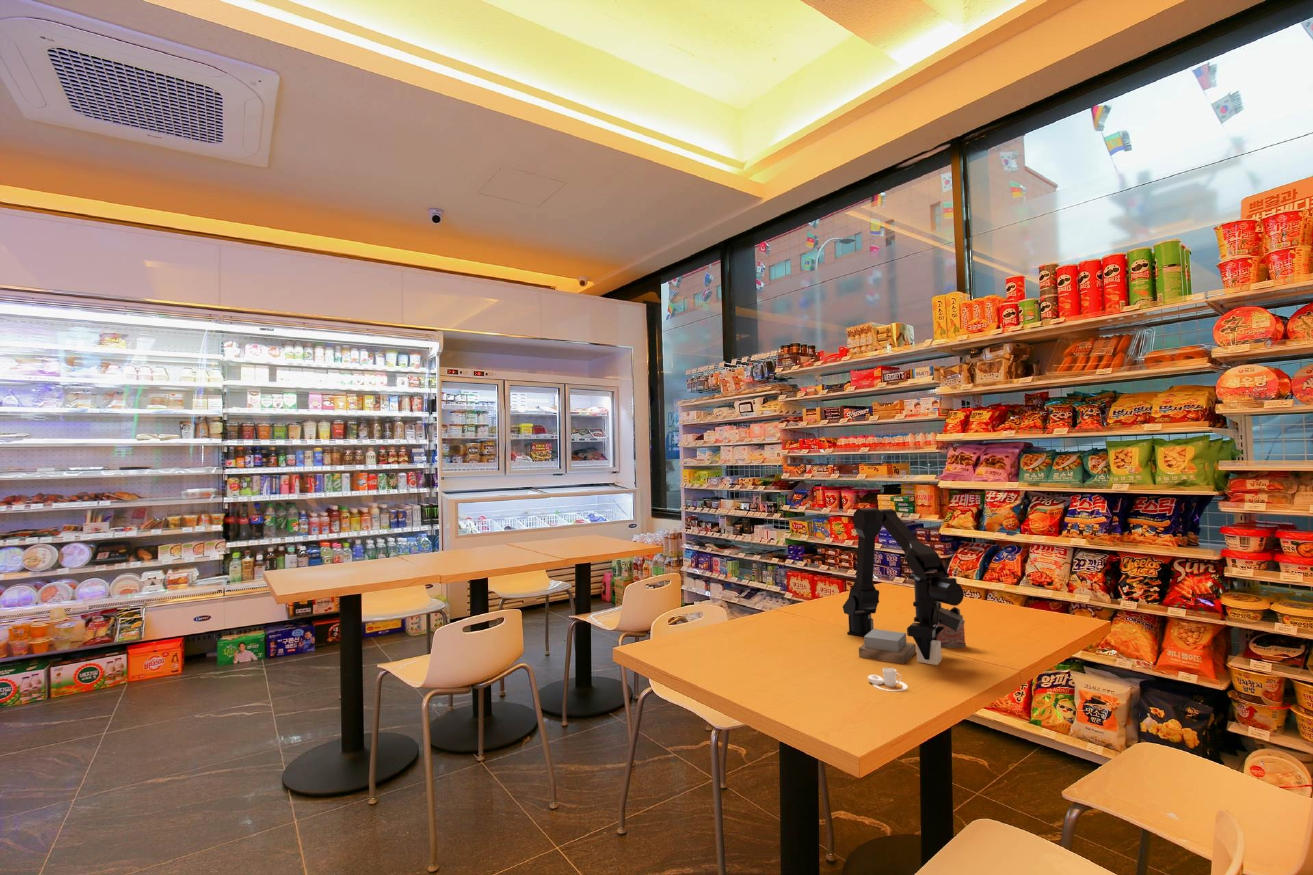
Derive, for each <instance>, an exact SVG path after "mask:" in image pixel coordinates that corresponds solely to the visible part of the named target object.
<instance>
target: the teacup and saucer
mask: <svg viewBox="0 0 1313 875" xmlns="http://www.w3.org/2000/svg"><path fill="white" fill-rule="evenodd" d="M882 675H883V676H882V677H881V676H880V675H877V674H870V675H868V676H867V680H868V681H869V682H870V683H871V684H872V686H873V687H874V688H876V689H879V690H881V691H886V692H903V691H905V690H907V689H908V687H909V686H908V684H906V683H905V682H903V681H901V679H902V675H901V674H900V673H898V672H897V669H896V668H893V667H883V668H882ZM897 675H898V676H899V679H898V680H897ZM883 684H885V686H886V687H889V688H894V687H896V686H897V685H902V688H899V689H898V688H897V689H887V688H884V687H880V686H881V685H883Z"/></svg>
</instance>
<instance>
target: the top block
mask: <svg viewBox="0 0 1313 875" xmlns="http://www.w3.org/2000/svg"><path fill="white" fill-rule="evenodd" d="M863 641H864V643H863V644H864V645H865V648H871V649H878V650H885V651H892V652H899V651H900V650H901V649H902V648H903V647H904V646H905V645H906V642H907V632H902V631H901V632H899V631H891V630H884V629H876V628H874V629H873V630H871V631H870V632H869V633H868V634H867V635H865V636H863Z"/></svg>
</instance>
